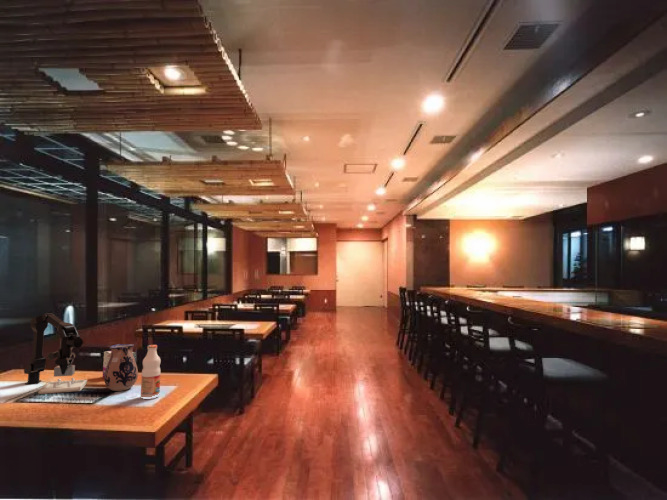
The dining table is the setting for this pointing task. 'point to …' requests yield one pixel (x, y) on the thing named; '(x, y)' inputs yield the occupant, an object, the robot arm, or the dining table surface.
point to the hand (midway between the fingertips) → (64, 373)
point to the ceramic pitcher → (121, 368)
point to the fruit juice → (151, 373)
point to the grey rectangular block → (69, 372)
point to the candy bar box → (106, 360)
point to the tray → (62, 386)
